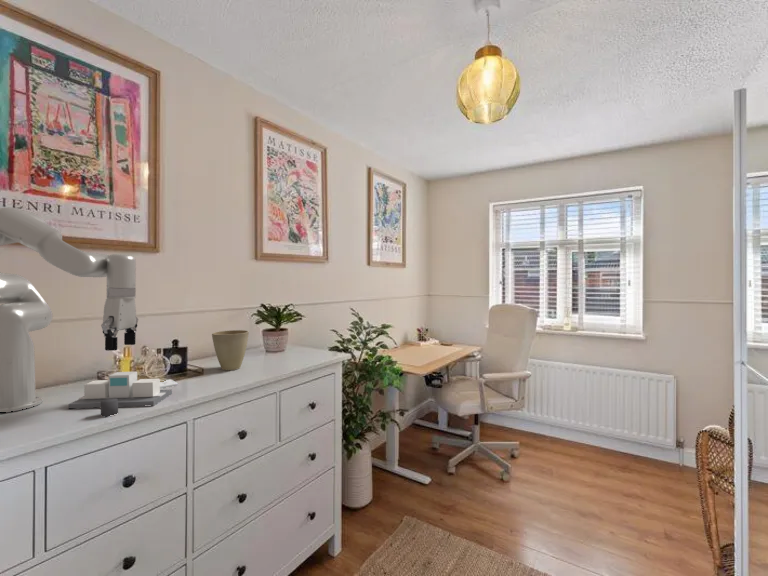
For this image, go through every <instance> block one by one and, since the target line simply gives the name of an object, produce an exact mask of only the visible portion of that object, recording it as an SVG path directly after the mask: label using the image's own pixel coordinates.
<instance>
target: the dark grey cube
mask: <svg viewBox="0 0 768 576" xmlns="http://www.w3.org/2000/svg"><path fill="white" fill-rule="evenodd" d="M117 413H118V414H119V407H118V399H107V400H103V401H101V408H100V416H101V415H102V416H110V415H114V414H117ZM118 414H117V415H118ZM114 416H115V415H114ZM110 417H111V416H110Z"/></svg>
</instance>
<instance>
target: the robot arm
mask: <svg viewBox="0 0 768 576" xmlns="http://www.w3.org/2000/svg"><path fill="white" fill-rule="evenodd" d="M16 243H17V244H18V243H19V244H21V245H23V246H24V247H26V248H29V249H30V250H32V251H35V252H37V254H39V256H40V257H42V259H44V261H46V262H47V263H49V264H50V265H52V266H54V267H56V268H58V269H59V270H62V271H63V272H65V273H68V274H69V275H72V276H75V277H80V278H106V298H105V302H104V306H103V312H102V313H103V314H102V315H103V317H102V323H101V325H100V326H101V329H102V334H103V337H104V350H105V351H115V352H116V351H117V350H118V336H117V335H118V333H119V331H123V330H124V331H125V332H124V333H123V334H124V335H123V336H124V339H123V341H124V344H123V345H126V346H135V345H136V340H137V339H136V336H137V335H136V332H137V328H138V322H139V318H138V317H137V309H136V308H137V307H136V297H137V295H136V291H137V289H136V288H137V287H136V285H137V283H136V282H137V280H136V279H137V273H136V271H137V261H136V257H134V255H132V254H131V255H130V254H110V255H109V254H103V253H97V252H96V253H95V252H89V251H84V250H81V249H79V248H77V247H75V246H73V245H71V244H69V243H68V242H66V241H64V240H63V233H61V230H59V229H56V227H55V228H54V227H52V226H50V225H49V224H48V223H47V222H46V219H44V218H43V217H42V216H40V215H39V214H38V213H34V212H31V211H28V210H22V209H19V208H14V207H0V246H6V245H13V244H16ZM53 317H54V316H53V311H52V309H51V307H50V305H49V304H48V303H47V302H46V299H44V297H43V296H42V295H41V294H40V292H39V291H38V289H37V288H36V286H34V284H33V283H32V282H31V281H30V280H29V279H28V278H26V277H24V276H22V275H19V274H17V273H7V272H6V273H3V272H1V271H0V412H6V413H12V412H11V411H13V412H18V411H22V409H23V410H26V408H27V409H30V408H33V406H34V407H35V406H38V405H40V404H42V403H43V398H42V397H41V396H37V395H36V360H35V358H36V357H35V345H34V344H35V343H34V341H33V339H32V337H31V335H30V332H35V331H39V330H40V331H41V330H43V329H45V328H46V327H48V326H49V325H50V324H51V323H52V321H53ZM41 402H42V403H41Z"/></svg>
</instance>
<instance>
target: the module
mask: <svg viewBox="0 0 768 576" xmlns="http://www.w3.org/2000/svg"><path fill="white" fill-rule="evenodd" d="M108 380H109V398H122V397H131V396H133V387H132V383H134V382H136V381H138V371H116V372H114V373H112V374H109V375H108Z"/></svg>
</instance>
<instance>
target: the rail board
mask: <svg viewBox="0 0 768 576" xmlns="http://www.w3.org/2000/svg"><path fill="white" fill-rule="evenodd" d="M160 381H161V378H139V379H137V381H136V382H134V383H132V387H133V396H131V397H122V398H109V379H102V380H101V379H99V380H98V379H97V380H92V381H90V382H87V383H84V385H83V386H84V389H83V393H84V395H83V396H82V397H79V398H78V399H77V400H75V401H72V402H70V403H68V406H67V407H68V409H69V408H85V409H93V408H92V407H101V401H103V400H107V399H118V408H132V407H133V406H141V407H146V406H145V405H154V406H156V405H158V404H159V403H161V402H162V401H163V400H165V399H166V397H167V398H168V397H169V395H170V396H171V395H172V394H173V393H172V392H173V390H172V389H160ZM161 400H162V401H161ZM158 402H159V403H158ZM155 404H156V405H155ZM133 408H134V407H133Z"/></svg>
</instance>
